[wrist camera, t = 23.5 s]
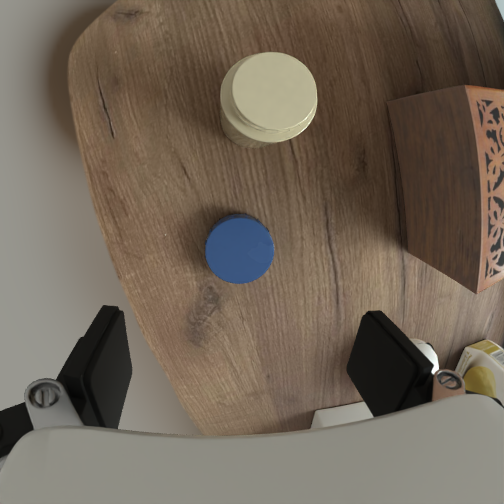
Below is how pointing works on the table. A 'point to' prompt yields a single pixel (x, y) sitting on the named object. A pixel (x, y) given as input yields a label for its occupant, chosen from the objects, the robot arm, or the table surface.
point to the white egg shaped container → (427, 352)
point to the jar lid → (239, 248)
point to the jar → (266, 99)
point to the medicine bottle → (341, 415)
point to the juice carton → (483, 369)
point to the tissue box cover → (454, 180)
